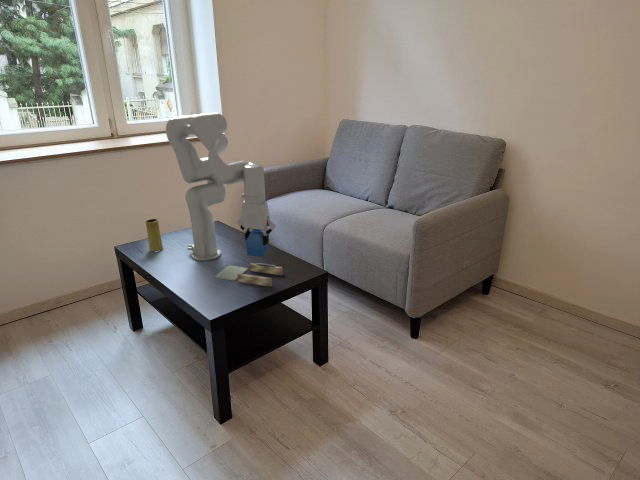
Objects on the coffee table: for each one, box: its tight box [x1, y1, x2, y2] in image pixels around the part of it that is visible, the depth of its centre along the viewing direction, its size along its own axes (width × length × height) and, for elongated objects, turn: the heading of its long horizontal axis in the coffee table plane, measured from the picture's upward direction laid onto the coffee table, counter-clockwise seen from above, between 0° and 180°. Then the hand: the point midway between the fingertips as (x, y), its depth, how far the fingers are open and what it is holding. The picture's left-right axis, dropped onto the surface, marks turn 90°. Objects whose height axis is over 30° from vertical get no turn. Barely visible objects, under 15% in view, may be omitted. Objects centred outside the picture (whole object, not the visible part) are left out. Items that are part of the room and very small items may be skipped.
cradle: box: [237, 262, 284, 287], centre depth 174 cm, size 14×11×4 cm
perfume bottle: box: [245, 229, 268, 258], centre depth 169 cm, size 6×6×12 cm
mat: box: [214, 265, 249, 282], centre depth 179 cm, size 9×11×1 cm
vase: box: [145, 218, 164, 252], centre depth 201 cm, size 6×6×14 cm
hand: (257, 242), depth 170 cm, fingers closed on perfume bottle, 6 cm apart
